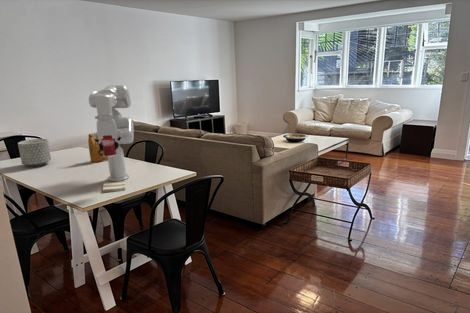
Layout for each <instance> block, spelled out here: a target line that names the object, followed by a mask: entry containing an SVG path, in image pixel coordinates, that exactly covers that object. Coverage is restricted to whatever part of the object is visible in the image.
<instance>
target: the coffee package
mask: <svg viewBox="0 0 470 313" xmlns="http://www.w3.org/2000/svg"><path fill="white" fill-rule="evenodd" d="M95 133H96V132H94V133H88V138H87V139H88V151H89V157H90V162H94V163H96V162H97V163H99V162H103V161H108V157H105V156H103V151H101V149H99V144H98V143H97V142H96V141H95V140H94V139H93V138H92V136H93V135H94V134H95ZM95 138H96V139H98V136H96V137H95ZM98 140H99V139H98Z"/></svg>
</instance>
